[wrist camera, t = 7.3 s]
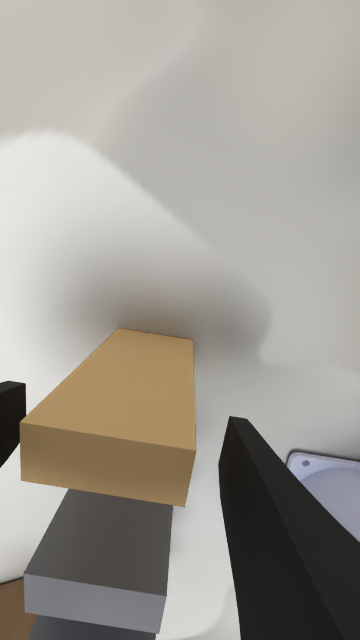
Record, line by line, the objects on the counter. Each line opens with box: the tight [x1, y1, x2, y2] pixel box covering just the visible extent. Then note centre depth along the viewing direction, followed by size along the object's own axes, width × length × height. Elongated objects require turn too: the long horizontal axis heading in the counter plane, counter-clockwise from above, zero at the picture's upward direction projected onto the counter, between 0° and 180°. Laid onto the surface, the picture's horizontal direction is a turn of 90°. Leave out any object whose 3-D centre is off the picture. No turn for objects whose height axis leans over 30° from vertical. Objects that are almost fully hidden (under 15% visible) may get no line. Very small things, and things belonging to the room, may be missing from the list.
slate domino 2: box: [27, 615, 156, 640], centre depth 13 cm, size 5×2×9 cm, turn 82°
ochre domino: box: [20, 328, 196, 507], centre depth 11 cm, size 5×2×9 cm, turn 81°
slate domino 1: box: [24, 489, 173, 634], centre depth 12 cm, size 5×2×9 cm, turn 82°
